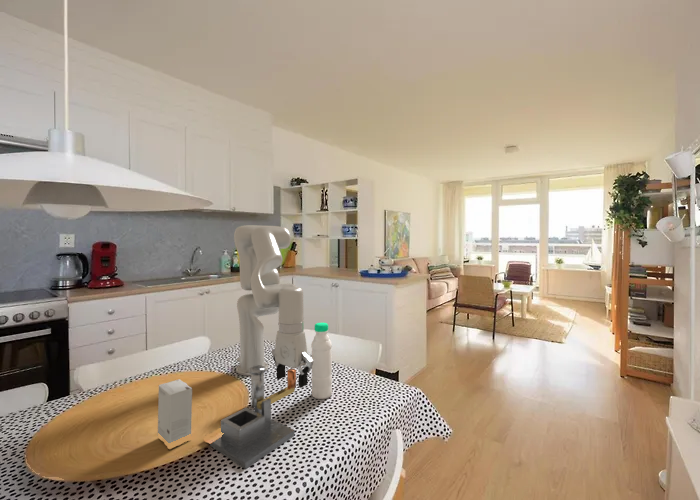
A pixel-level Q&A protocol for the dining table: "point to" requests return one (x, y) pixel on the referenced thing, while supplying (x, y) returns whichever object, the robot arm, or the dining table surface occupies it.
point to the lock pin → (283, 393)
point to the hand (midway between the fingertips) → (291, 381)
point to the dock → (251, 434)
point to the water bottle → (321, 363)
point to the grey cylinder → (257, 382)
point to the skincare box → (174, 410)
